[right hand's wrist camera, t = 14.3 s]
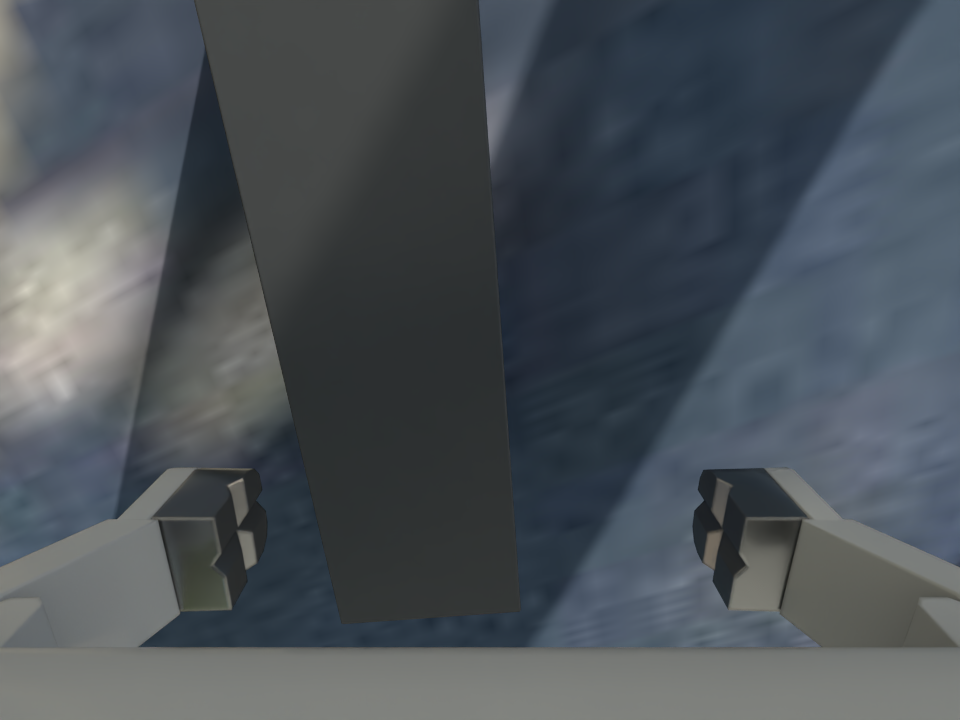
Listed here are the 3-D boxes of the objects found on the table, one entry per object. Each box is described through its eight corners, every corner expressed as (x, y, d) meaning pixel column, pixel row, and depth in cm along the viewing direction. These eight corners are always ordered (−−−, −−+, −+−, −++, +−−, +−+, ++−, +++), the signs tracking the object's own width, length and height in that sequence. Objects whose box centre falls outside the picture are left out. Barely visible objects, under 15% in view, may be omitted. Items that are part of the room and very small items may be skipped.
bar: (503, 433, 24) (521, 612, 15) (389, 442, 24) (341, 624, 15) (448, -307, 15) (415, -922, 6) (269, -290, 15) (-13, -868, 6)
